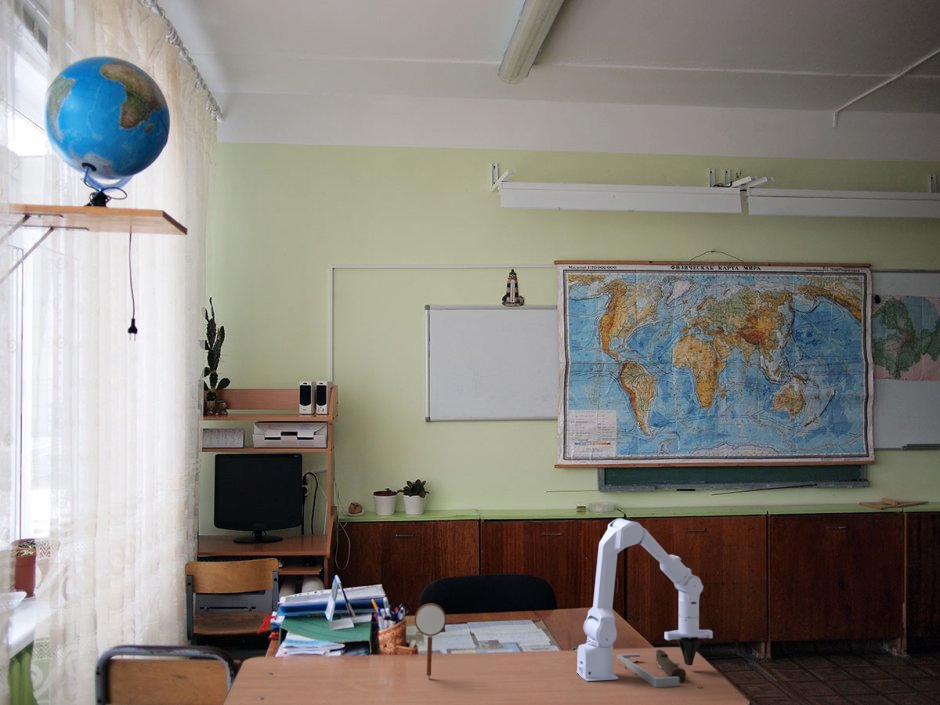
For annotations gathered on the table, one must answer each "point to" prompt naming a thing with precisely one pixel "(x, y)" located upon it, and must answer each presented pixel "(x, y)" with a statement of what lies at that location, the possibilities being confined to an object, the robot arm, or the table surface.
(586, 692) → the table surface
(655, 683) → the box
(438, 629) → the magnifying glass
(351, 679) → the table surface
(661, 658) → the brown rough log
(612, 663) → the robot arm
